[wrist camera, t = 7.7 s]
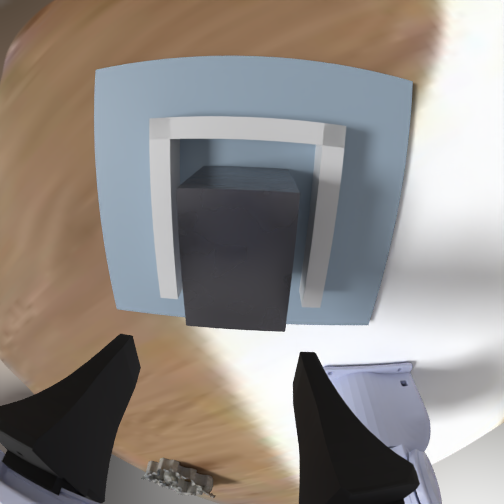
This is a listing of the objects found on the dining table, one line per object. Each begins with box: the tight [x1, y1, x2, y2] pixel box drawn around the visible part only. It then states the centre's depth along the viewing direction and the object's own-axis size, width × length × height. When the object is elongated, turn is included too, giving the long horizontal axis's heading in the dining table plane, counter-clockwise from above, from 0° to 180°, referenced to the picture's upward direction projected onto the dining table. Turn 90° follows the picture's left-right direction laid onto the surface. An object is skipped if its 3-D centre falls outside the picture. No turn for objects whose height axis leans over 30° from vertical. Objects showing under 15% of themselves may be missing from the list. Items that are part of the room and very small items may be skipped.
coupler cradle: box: [94, 56, 413, 325], centre depth 17 cm, size 20×18×2 cm
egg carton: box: [141, 458, 215, 498], centre depth 35 cm, size 11×8×4 cm
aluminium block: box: [176, 166, 300, 332], centre depth 16 cm, size 5×7×6 cm
